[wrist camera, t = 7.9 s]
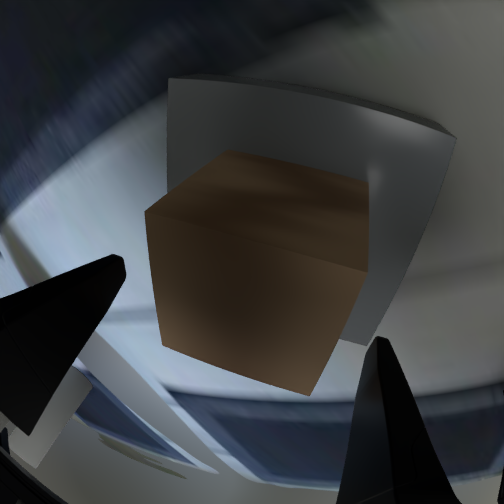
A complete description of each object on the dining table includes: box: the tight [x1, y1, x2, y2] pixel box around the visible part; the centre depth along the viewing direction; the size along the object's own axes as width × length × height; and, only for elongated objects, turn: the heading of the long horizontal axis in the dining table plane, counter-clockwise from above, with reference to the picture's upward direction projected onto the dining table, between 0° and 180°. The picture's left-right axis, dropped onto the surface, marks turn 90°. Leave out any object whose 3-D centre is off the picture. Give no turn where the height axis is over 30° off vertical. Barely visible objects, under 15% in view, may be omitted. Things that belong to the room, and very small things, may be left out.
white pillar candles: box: [8, 366, 92, 468], centre depth 41 cm, size 11×7×20 cm, turn 115°
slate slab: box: [167, 74, 457, 346], centre depth 15 cm, size 12×12×3 cm
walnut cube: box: [144, 150, 369, 396], centre depth 12 cm, size 6×6×6 cm
